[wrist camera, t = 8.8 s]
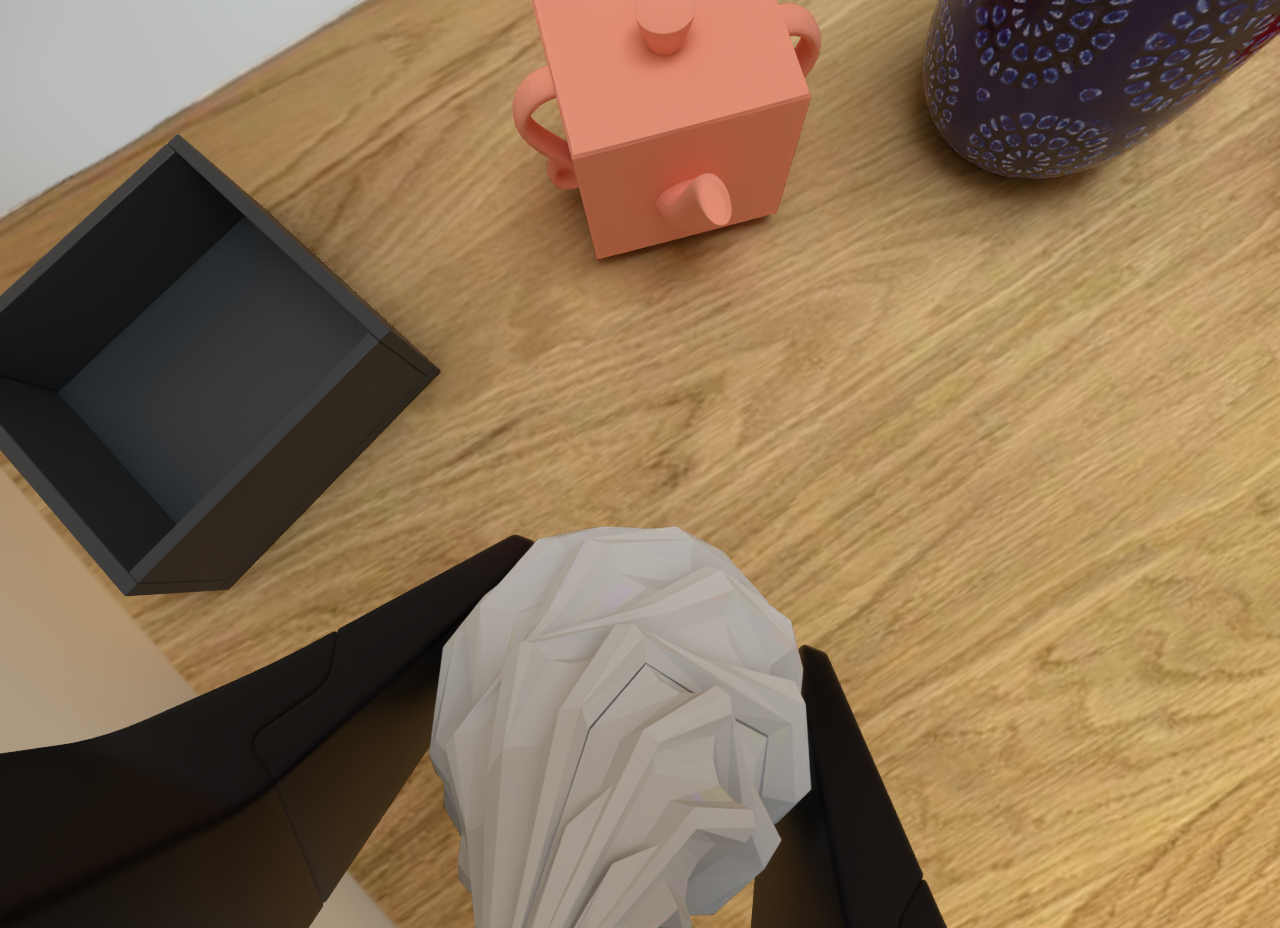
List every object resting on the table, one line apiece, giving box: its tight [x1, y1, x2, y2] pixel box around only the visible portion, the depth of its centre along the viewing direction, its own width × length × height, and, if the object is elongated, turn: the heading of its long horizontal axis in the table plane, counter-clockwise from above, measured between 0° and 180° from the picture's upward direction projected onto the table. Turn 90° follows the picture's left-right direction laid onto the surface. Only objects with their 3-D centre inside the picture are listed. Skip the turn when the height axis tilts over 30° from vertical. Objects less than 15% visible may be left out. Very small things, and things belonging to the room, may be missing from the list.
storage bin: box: [0, 134, 440, 596], centre depth 23 cm, size 13×13×5 cm
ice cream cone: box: [429, 526, 811, 928], centre depth 9 cm, size 5×5×15 cm
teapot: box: [513, 0, 821, 259], centre depth 22 cm, size 12×15×8 cm
